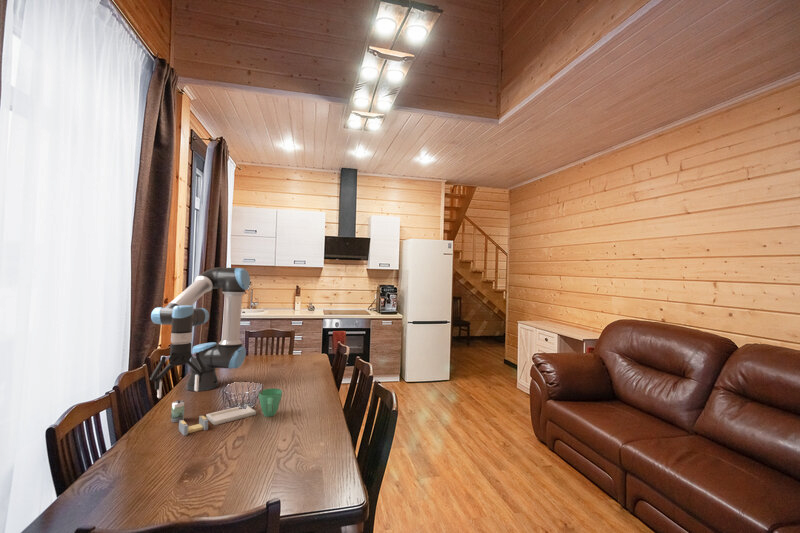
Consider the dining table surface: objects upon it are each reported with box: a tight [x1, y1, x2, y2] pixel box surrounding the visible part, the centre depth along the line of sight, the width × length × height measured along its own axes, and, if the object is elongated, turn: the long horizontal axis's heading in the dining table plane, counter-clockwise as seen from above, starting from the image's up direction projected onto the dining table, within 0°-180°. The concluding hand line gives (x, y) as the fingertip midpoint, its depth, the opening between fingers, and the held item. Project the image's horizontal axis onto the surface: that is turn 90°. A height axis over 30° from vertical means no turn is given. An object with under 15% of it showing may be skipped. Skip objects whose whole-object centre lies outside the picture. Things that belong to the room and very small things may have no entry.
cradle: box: [178, 415, 209, 437], centre depth 141 cm, size 7×8×4 cm
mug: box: [258, 387, 283, 418], centre depth 157 cm, size 15×10×10 cm
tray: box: [205, 405, 257, 426], centre depth 155 cm, size 10×17×2 cm, turn 136°
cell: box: [170, 399, 185, 423], centre depth 150 cm, size 4×4×8 cm
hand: (178, 394), depth 149 cm, fingers open, 13 cm apart
